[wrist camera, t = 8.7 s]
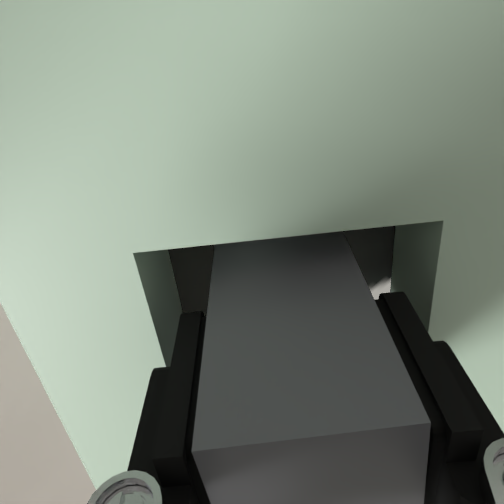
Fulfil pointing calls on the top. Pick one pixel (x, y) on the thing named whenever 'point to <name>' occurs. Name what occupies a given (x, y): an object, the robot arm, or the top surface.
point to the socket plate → (238, 173)
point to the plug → (303, 382)
